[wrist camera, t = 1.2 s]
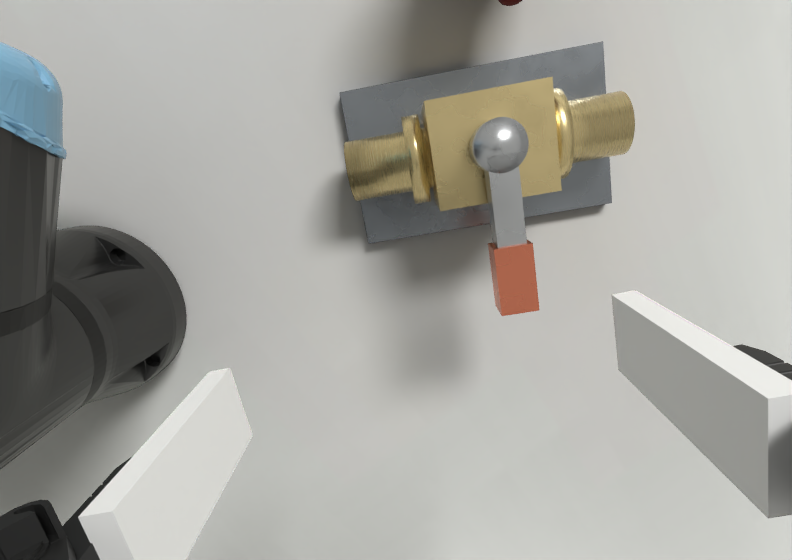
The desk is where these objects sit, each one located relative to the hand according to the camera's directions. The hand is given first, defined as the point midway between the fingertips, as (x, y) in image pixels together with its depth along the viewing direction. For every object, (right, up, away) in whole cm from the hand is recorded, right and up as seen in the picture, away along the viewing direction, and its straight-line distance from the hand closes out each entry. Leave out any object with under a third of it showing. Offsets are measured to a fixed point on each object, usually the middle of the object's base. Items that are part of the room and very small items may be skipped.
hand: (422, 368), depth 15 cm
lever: (+6, +7, +15) cm, 18 cm away
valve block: (+6, +14, +21) cm, 26 cm away
